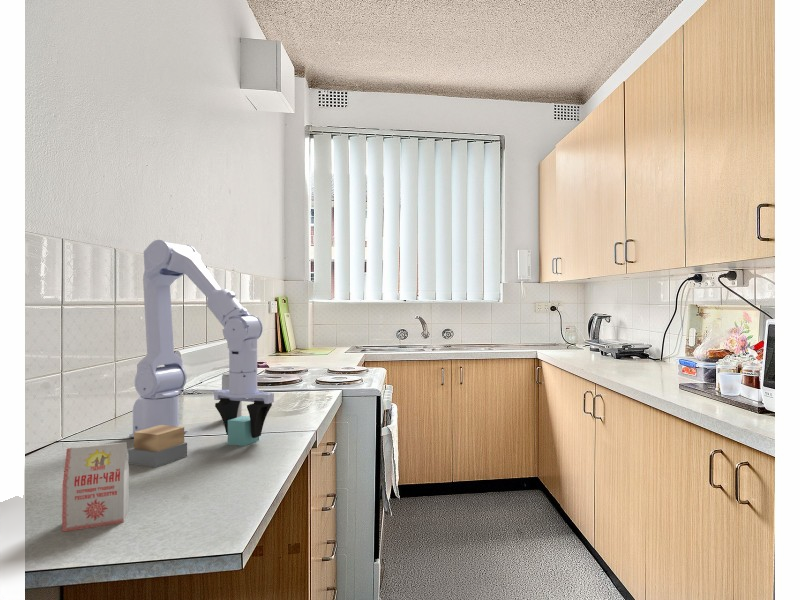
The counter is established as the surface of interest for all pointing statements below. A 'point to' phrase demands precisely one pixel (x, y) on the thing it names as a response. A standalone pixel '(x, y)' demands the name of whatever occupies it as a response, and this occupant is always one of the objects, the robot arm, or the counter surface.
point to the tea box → (95, 486)
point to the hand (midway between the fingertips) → (243, 435)
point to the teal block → (240, 431)
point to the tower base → (157, 455)
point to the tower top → (158, 437)
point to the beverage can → (226, 387)
